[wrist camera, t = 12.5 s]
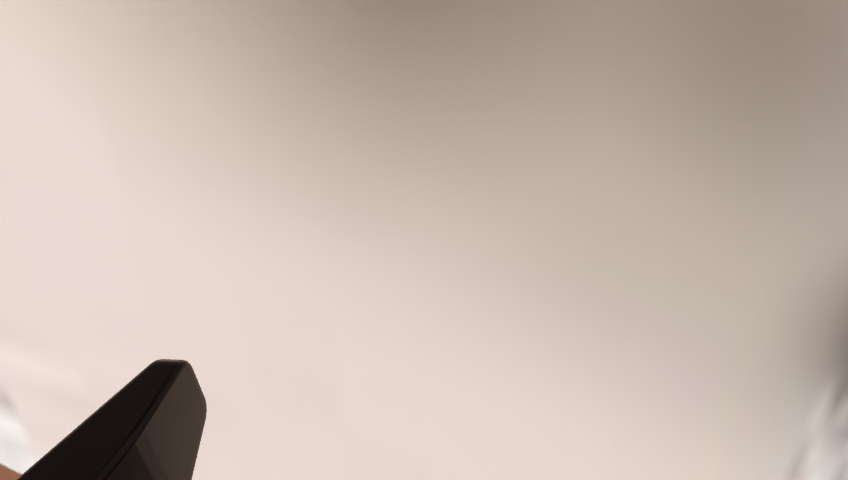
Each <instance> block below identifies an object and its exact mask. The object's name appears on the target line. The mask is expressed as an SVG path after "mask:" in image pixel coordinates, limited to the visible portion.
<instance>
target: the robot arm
mask: <svg viewBox="0 0 848 480" xmlns="http://www.w3.org/2000/svg"><path fill="white" fill-rule="evenodd" d="M206 412H207V408H206V400H205V397H204V395H203V392H202V390H201V387H200V385H199V383H198V380H197V378H196V375H195V373H194V371H193V368H192V366H191V364H189V363H188V362H187V361H185V360H171V359H160V360H156V361H154V362H153V363H151V364H150V365H149V366H148V367H146V368H145V369H144V370H143V371H142V372H141V373H139V374H138V375H137V376H136V377H135V378H134V379H132V380H131V381H130V382H129V383H128V384H127V385H125V386H124V387H123V388H122V389H121V390H120V391H119V392H117V393H116V394H115V395H114V396H113V397H112V398H110V399H109V400H108V401H107V402H106V403H105V404H103V405H102V406H101V407H100V408H99V409H98V410H97V411H95V412H94V413H93V414H92V415H91V416H90V417H88V418H87V419H86V420H85V421H84V422H83V423H81V424H80V425H79V426H78V427H77V428H76V429H75V430H73V431H72V432H71V433H70V434H69V435H68V436H66V437H65V438H64V439H63V440H62V441H61V442H59V443H58V444H57V445H56V446H55V447H54V448H53V449H51V450H50V451H49V452H48V453H47V454H46V455H44V456H43V457H42V458H41V459H40V460H39V461H37V462H36V463H35V464H34V465H33V466H32V467H31V468H29V469H28V470H27V471H26V472H25V473H24V474H22V475H21V476H20V477H19V478H18V479H17V480H192V475H193V471H194V467H195V462H196V458H197V454H198V449H199V445H200V441H201V437H202V432H203V428H204V424H205V419H206Z"/></svg>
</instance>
